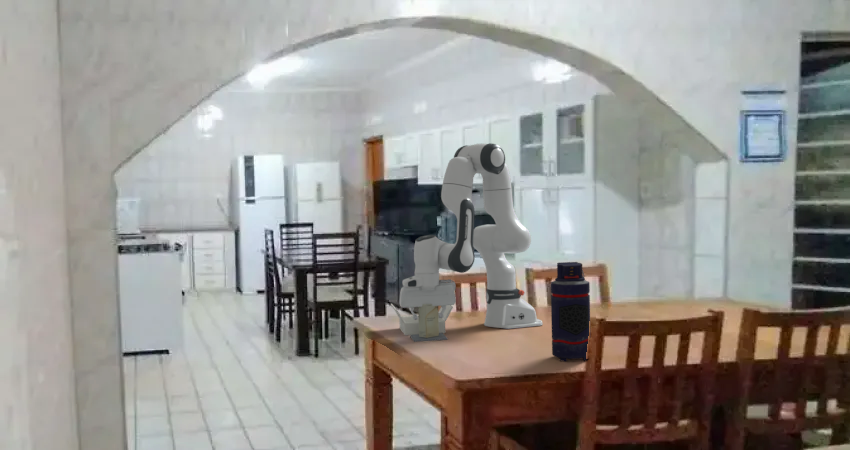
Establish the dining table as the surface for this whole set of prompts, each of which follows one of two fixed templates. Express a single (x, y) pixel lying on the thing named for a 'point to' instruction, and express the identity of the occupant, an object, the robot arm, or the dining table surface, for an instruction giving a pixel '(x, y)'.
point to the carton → (412, 326)
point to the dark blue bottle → (570, 312)
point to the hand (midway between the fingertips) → (428, 318)
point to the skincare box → (428, 321)
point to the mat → (417, 338)
